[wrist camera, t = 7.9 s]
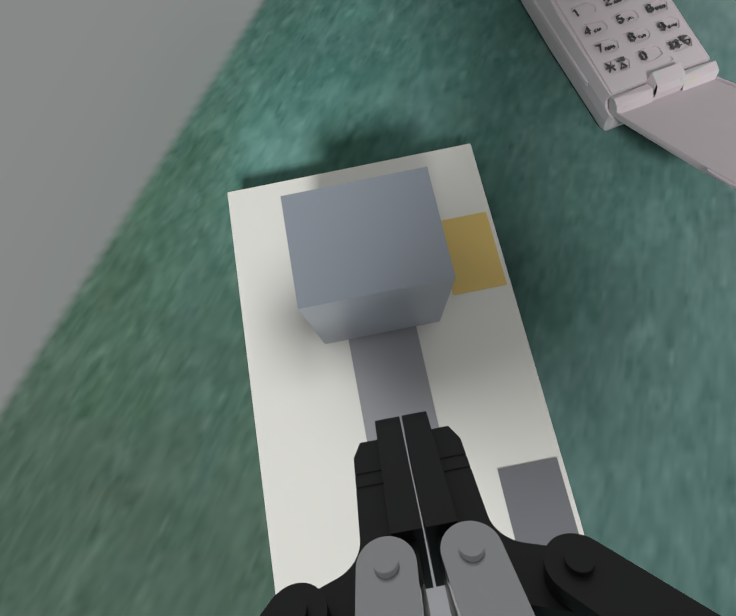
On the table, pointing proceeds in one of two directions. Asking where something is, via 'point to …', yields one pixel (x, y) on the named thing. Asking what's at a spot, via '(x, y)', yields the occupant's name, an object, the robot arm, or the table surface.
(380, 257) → the switch tab
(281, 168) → the table surface
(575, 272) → the table surface
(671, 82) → the mobile phone
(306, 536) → the switch housing
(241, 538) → the table surface
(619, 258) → the table surface
